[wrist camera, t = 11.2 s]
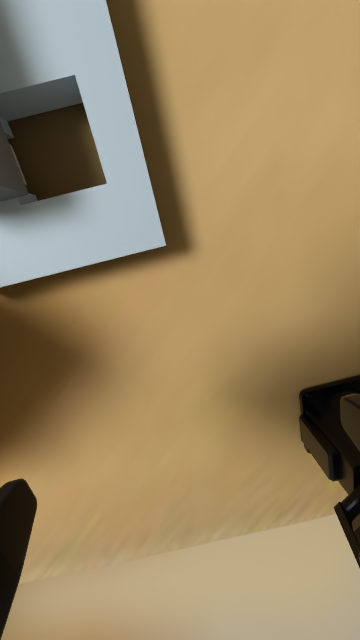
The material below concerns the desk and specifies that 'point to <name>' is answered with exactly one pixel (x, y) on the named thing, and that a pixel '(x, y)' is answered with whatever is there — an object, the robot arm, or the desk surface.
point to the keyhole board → (108, 132)
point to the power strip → (10, 171)
